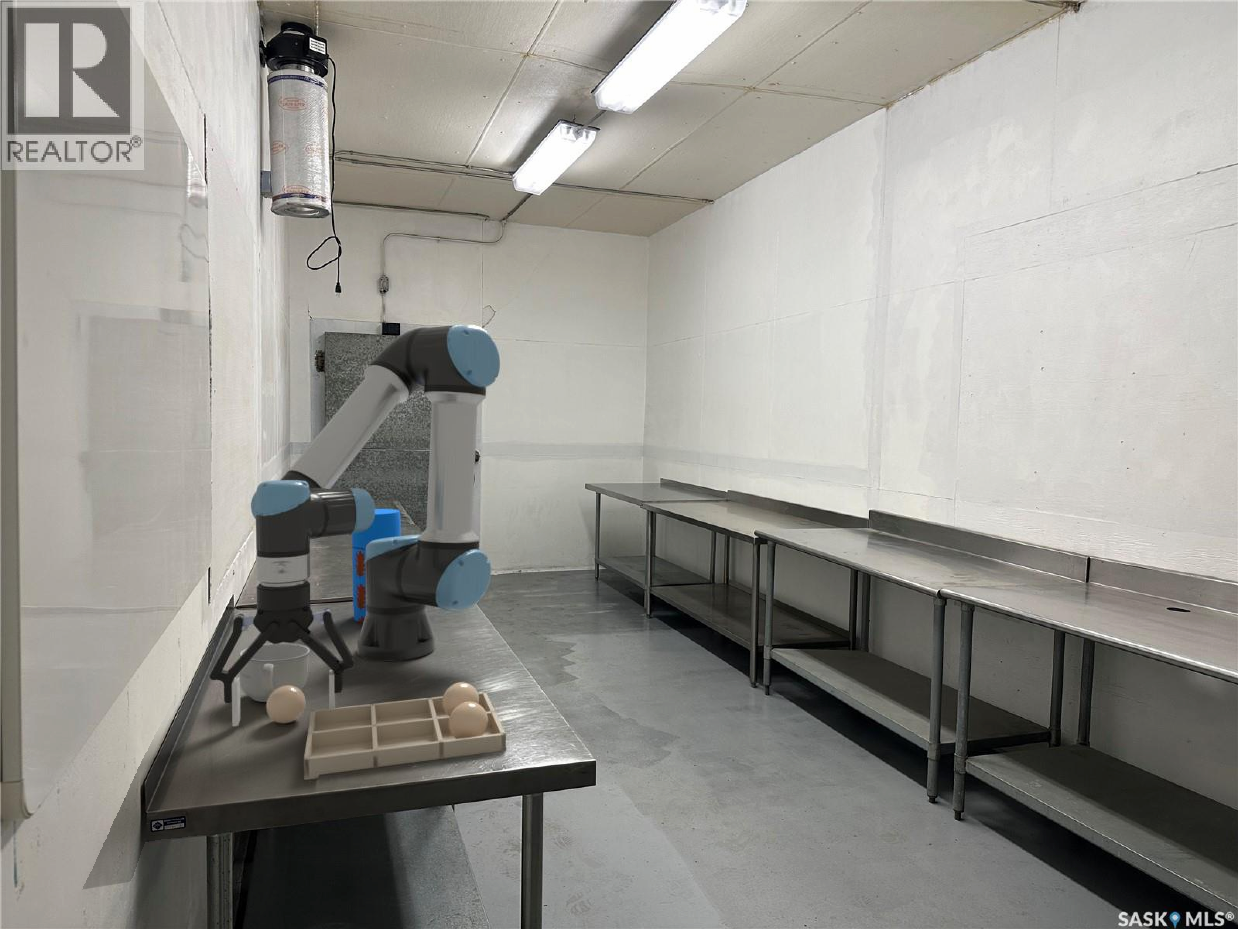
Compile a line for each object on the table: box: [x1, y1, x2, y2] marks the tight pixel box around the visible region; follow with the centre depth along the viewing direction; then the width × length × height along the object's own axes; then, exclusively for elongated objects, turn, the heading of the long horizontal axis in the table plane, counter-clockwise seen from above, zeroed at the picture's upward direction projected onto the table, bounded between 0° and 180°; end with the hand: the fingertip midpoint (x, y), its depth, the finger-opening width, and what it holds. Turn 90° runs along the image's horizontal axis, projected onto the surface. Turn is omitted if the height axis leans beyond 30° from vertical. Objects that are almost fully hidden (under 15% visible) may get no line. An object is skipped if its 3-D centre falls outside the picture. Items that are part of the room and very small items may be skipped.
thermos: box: [351, 508, 402, 623], centre depth 181 cm, size 11×11×25 cm
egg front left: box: [449, 702, 488, 739], centre depth 112 cm, size 6×6×6 cm
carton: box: [303, 691, 507, 781], centre depth 113 cm, size 18×26×3 cm
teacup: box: [238, 642, 311, 703], centre depth 129 cm, size 14×11×8 cm
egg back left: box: [442, 681, 479, 716], centre depth 120 cm, size 6×6×6 cm
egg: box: [265, 685, 306, 724], centre depth 120 cm, size 6×6×6 cm
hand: (285, 718), depth 120 cm, fingers open, 13 cm apart
